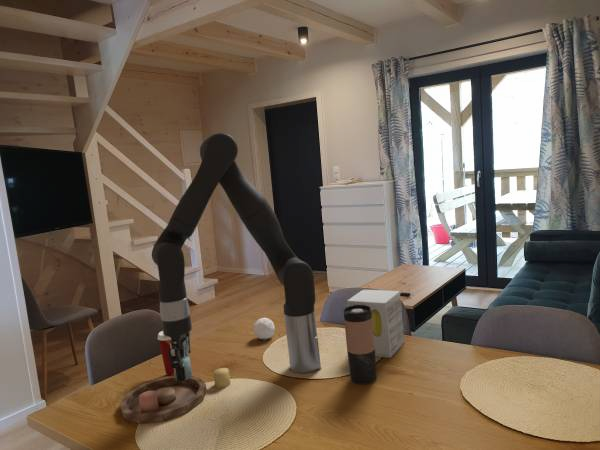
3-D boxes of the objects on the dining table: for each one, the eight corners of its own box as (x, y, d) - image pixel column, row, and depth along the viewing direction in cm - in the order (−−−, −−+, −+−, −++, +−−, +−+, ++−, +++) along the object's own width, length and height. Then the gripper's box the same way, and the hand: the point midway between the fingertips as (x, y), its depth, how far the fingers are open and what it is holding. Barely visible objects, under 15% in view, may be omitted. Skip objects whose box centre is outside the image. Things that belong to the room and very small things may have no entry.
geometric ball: (260, 345, 166) (250, 326, 169) (279, 334, 167) (269, 315, 170) (258, 342, 159) (247, 322, 162) (278, 330, 160) (267, 311, 163)
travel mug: (380, 373, 127) (374, 305, 125) (373, 386, 120) (366, 314, 118) (354, 371, 130) (348, 304, 128) (346, 383, 123) (339, 313, 121)
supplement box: (351, 353, 143) (345, 300, 141) (367, 338, 154) (362, 288, 152) (390, 358, 136) (385, 302, 134) (405, 342, 147) (400, 290, 145)
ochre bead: (231, 383, 131) (229, 367, 131) (229, 390, 127) (227, 373, 126) (216, 385, 131) (214, 368, 131) (214, 392, 127) (212, 375, 126)
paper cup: (181, 379, 137) (175, 335, 136) (158, 380, 139) (151, 336, 137) (192, 368, 145) (186, 326, 143) (170, 368, 146) (164, 327, 145)
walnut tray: (212, 381, 134) (211, 371, 134) (196, 421, 112) (195, 410, 112) (138, 389, 134) (137, 379, 133) (109, 431, 112) (107, 420, 112)
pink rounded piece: (161, 407, 119) (158, 389, 119) (156, 416, 115) (153, 397, 114) (144, 409, 119) (141, 391, 119) (139, 418, 115) (136, 399, 114)
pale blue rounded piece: (193, 372, 124) (191, 355, 124) (190, 380, 120) (187, 362, 119) (177, 374, 124) (175, 357, 124) (173, 381, 120) (171, 363, 119)
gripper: (183, 322, 113) (191, 387, 115) (195, 306, 127) (202, 363, 129) (153, 325, 113) (162, 390, 115) (168, 308, 127) (176, 366, 129)
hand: (183, 375), depth 122 cm, fingers closed on pale blue rounded piece, 4 cm apart
